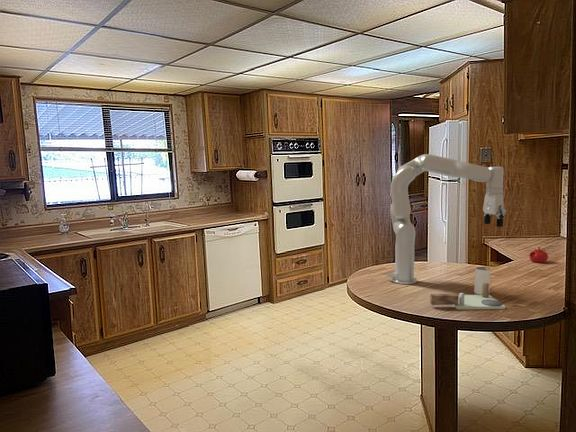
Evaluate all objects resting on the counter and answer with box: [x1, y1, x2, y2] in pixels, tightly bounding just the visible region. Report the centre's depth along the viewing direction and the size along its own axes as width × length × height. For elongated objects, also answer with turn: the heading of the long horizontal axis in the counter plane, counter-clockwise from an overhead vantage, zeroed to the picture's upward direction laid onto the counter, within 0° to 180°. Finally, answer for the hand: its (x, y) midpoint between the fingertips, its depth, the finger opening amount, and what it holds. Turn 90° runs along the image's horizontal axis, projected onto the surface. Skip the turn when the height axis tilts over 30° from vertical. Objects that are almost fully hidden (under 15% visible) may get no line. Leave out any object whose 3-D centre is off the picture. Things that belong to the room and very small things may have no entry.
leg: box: [429, 293, 460, 306], centre depth 187 cm, size 11×2×4 cm, turn 88°
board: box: [452, 283, 506, 310], centre depth 191 cm, size 20×16×7 cm
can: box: [473, 266, 491, 295], centre depth 205 cm, size 6×6×12 cm
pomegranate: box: [528, 246, 549, 264], centre depth 263 cm, size 10×10×9 cm
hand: (493, 225), depth 220 cm, fingers open, 9 cm apart
